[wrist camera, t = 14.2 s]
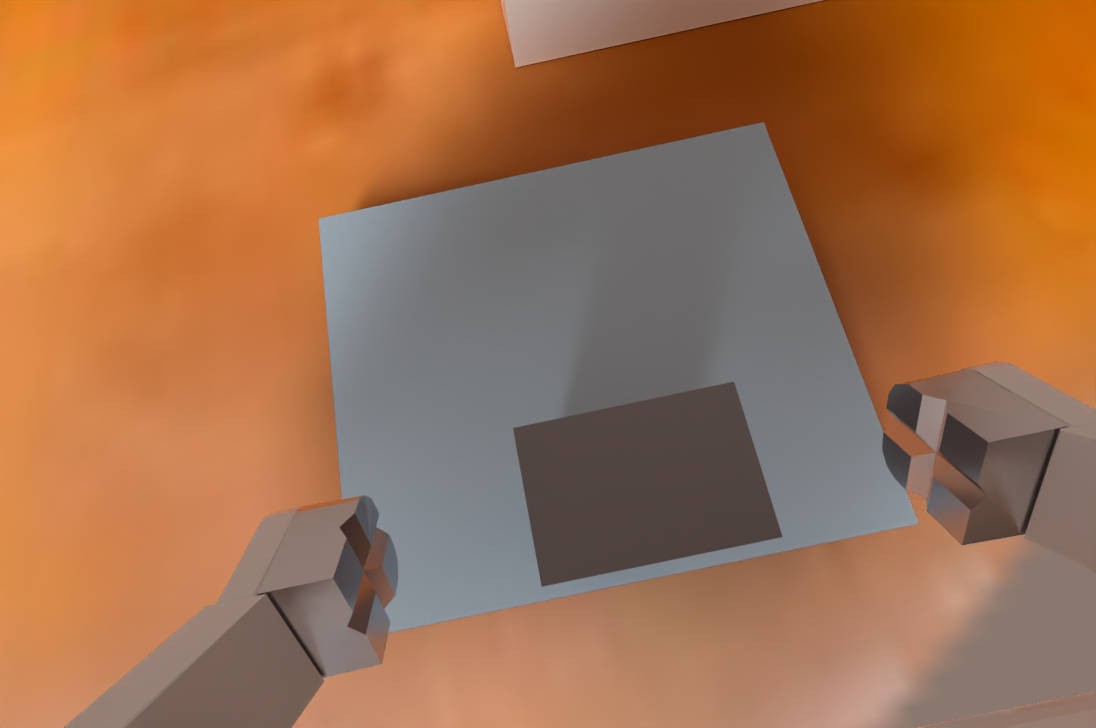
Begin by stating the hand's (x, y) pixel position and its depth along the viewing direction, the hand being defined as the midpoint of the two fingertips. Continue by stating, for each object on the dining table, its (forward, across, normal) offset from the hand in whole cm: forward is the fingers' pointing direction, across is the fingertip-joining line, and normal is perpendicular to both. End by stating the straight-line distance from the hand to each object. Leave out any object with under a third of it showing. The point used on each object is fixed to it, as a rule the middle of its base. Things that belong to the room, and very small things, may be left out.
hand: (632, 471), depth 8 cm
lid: (+7, 0, +2) cm, 7 cm away
